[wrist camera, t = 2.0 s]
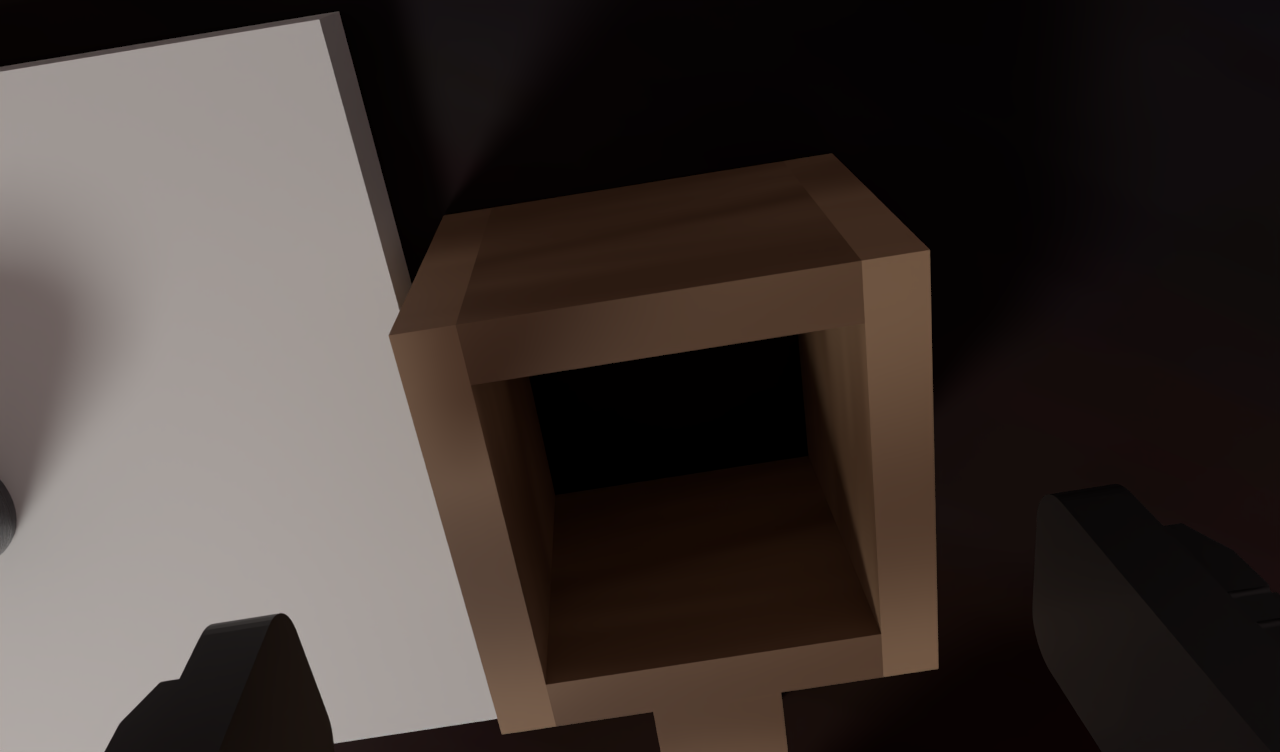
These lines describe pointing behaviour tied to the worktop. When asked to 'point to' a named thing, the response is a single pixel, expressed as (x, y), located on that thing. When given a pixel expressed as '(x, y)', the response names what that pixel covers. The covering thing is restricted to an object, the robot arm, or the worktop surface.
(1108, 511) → the robot arm
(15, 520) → the post
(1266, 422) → the worktop surface
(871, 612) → the open wooden box
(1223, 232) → the worktop surface
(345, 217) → the board
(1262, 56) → the worktop surface
